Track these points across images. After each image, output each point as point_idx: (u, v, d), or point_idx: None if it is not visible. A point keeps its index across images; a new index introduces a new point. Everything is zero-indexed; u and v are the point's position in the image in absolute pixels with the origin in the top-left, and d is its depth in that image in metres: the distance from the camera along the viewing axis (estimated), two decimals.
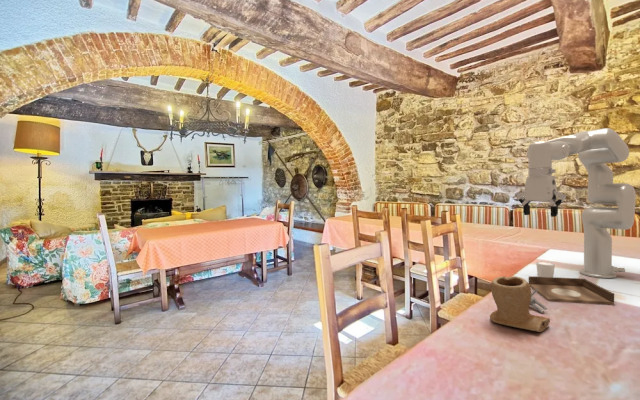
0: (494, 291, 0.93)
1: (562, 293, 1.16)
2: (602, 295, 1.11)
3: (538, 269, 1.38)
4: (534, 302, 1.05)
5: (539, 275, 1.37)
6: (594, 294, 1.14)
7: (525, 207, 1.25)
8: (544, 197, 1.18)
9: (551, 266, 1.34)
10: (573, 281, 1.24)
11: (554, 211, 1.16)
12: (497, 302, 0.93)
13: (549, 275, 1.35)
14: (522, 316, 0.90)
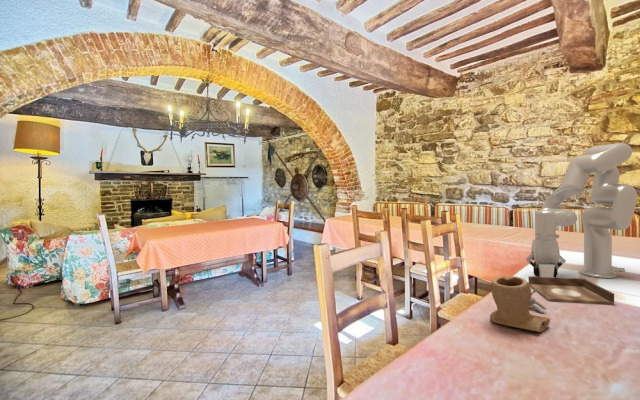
0: (494, 291, 0.93)
1: (562, 293, 1.16)
2: (602, 295, 1.11)
3: None
4: (533, 302, 1.05)
5: (539, 275, 1.37)
6: (594, 294, 1.14)
7: (538, 270, 1.37)
8: (554, 259, 1.35)
9: (551, 266, 1.34)
10: (573, 281, 1.24)
11: None
12: (497, 302, 0.93)
13: (549, 275, 1.35)
14: (522, 316, 0.90)
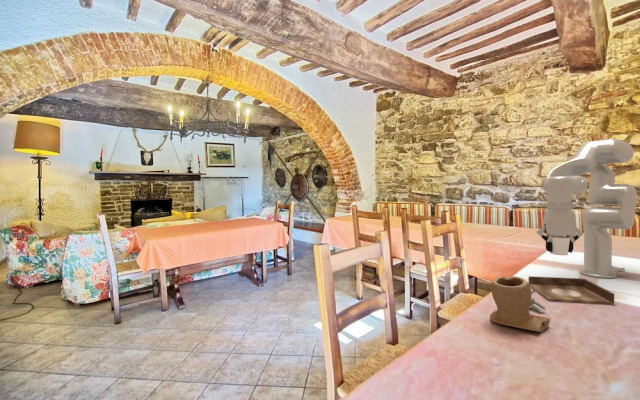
0: (494, 291, 0.93)
1: (562, 293, 1.16)
2: (602, 295, 1.11)
3: None
4: (533, 302, 1.04)
5: (552, 250, 1.21)
6: (594, 294, 1.14)
7: (551, 244, 1.21)
8: (569, 231, 1.19)
9: (566, 239, 1.18)
10: (573, 281, 1.24)
11: (572, 247, 1.20)
12: (497, 302, 0.93)
13: (563, 250, 1.19)
14: (522, 316, 0.90)
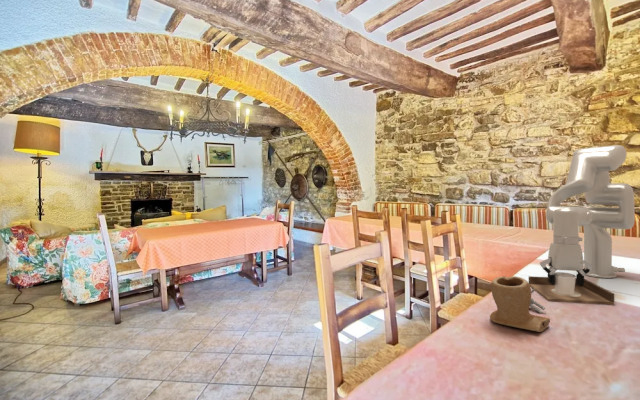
0: (494, 291, 0.93)
1: None
2: (602, 295, 1.11)
3: (556, 281, 1.17)
4: (532, 302, 1.04)
5: (557, 288, 1.17)
6: (594, 294, 1.14)
7: (554, 277, 1.17)
8: (576, 266, 1.14)
9: (572, 278, 1.14)
10: None
11: (582, 280, 1.15)
12: (497, 302, 0.93)
13: (569, 289, 1.14)
14: (522, 316, 0.90)
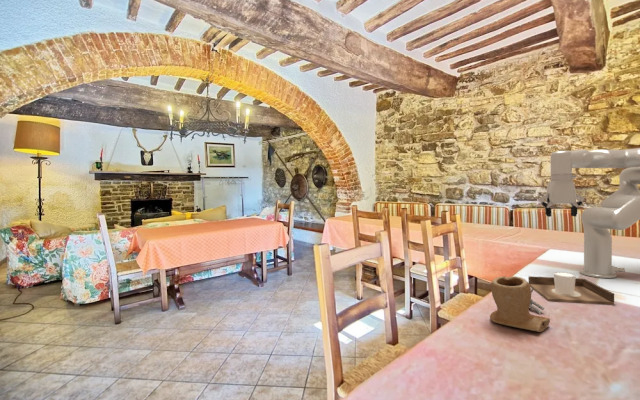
0: (494, 291, 0.93)
1: None
2: (602, 295, 1.11)
3: (556, 281, 1.17)
4: (531, 303, 1.04)
5: (557, 288, 1.17)
6: (594, 294, 1.14)
7: (550, 209, 1.37)
8: (570, 199, 1.34)
9: (572, 278, 1.14)
10: None
11: None
12: (497, 302, 0.93)
13: (569, 289, 1.14)
14: (522, 316, 0.90)
